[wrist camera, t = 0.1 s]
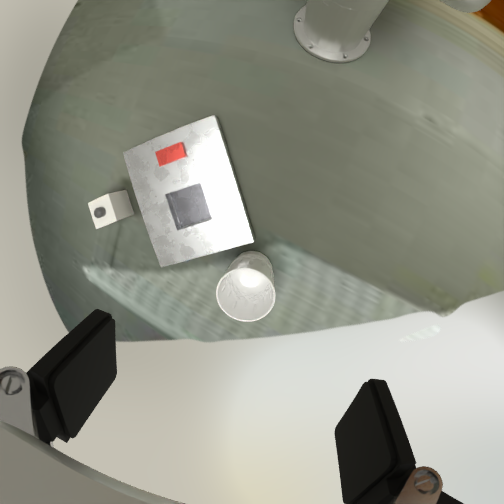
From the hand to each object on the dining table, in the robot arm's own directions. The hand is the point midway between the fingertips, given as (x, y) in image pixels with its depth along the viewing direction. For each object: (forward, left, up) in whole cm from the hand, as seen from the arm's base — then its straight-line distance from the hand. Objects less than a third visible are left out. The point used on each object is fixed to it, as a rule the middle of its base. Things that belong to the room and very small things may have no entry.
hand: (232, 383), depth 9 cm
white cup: (+8, -5, -38) cm, 39 cm away
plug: (-9, -24, -37) cm, 45 cm away
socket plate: (-7, -11, -37) cm, 39 cm away
